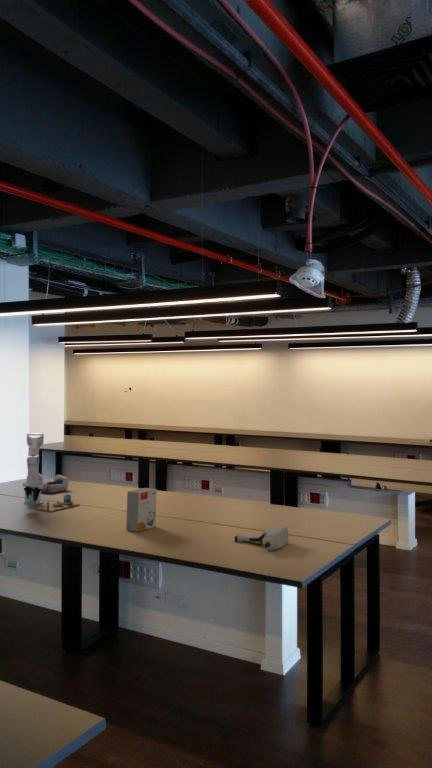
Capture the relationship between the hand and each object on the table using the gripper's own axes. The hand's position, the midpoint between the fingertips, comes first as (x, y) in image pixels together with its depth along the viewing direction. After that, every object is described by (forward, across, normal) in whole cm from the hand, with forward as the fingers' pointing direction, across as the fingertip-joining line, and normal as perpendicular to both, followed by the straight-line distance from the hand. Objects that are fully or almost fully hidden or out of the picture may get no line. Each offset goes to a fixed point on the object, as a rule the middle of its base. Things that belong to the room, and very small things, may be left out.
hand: (32, 500), depth 332 cm
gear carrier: (+7, +3, +17) cm, 19 cm away
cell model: (+8, -38, +53) cm, 66 cm away
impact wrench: (+7, +141, +8) cm, 141 cm away
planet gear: (+2, 0, 0) cm, 2 cm away
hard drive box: (+7, +76, +4) cm, 77 cm away
